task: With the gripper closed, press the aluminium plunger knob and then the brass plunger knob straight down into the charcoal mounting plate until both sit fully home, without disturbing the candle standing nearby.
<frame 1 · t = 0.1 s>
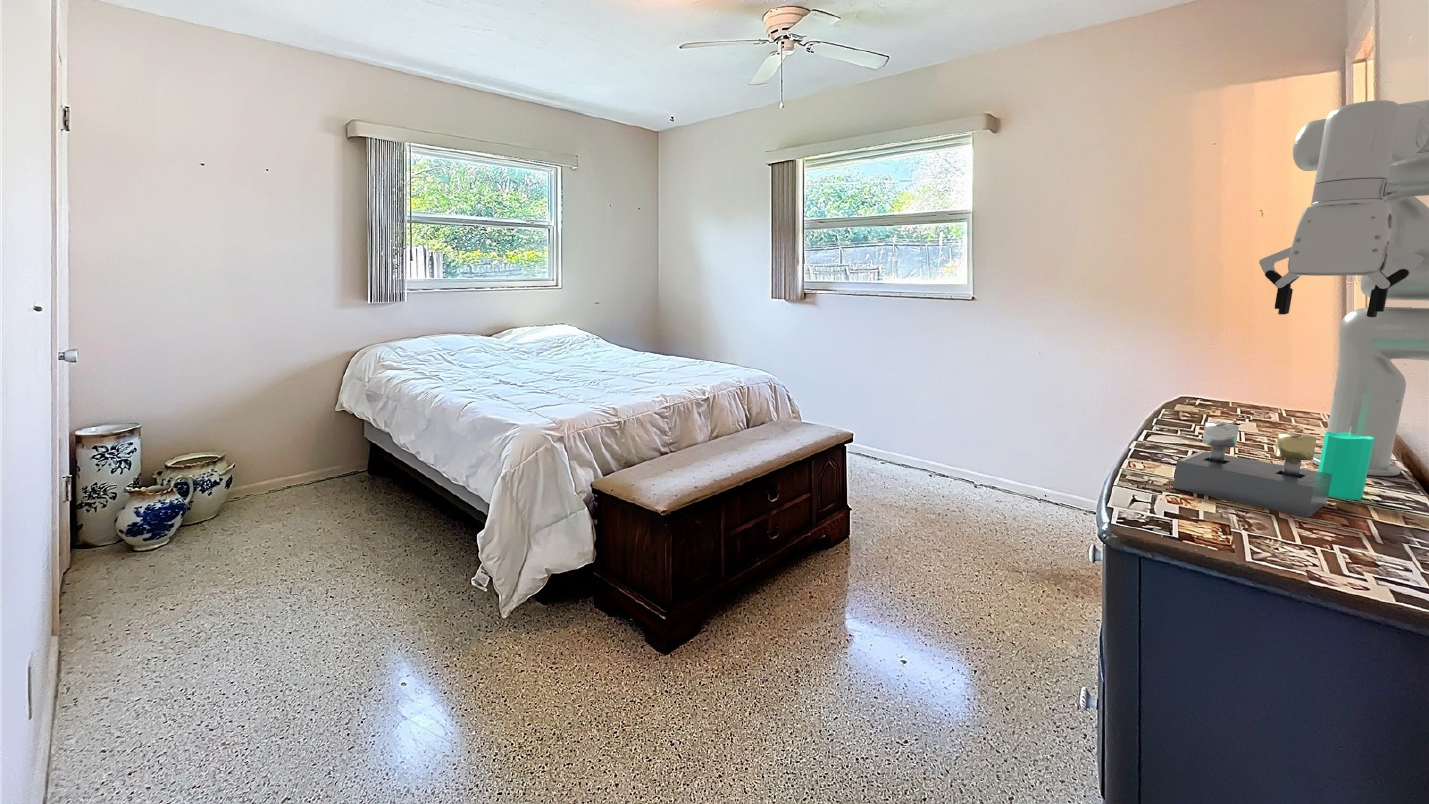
hand: (1325, 315, 94), 31 cm above the table, tool pointing down, fingers open, 9 cm apart
candle: (1337, 495, 110), on the table
knob a: (1218, 446, 112), point 8 cm above the table, slide at 0.0 cm
knob b: (1293, 459, 104), point 8 cm above the table, slide at 0.0 cm
mount: (1247, 495, 109), on the table
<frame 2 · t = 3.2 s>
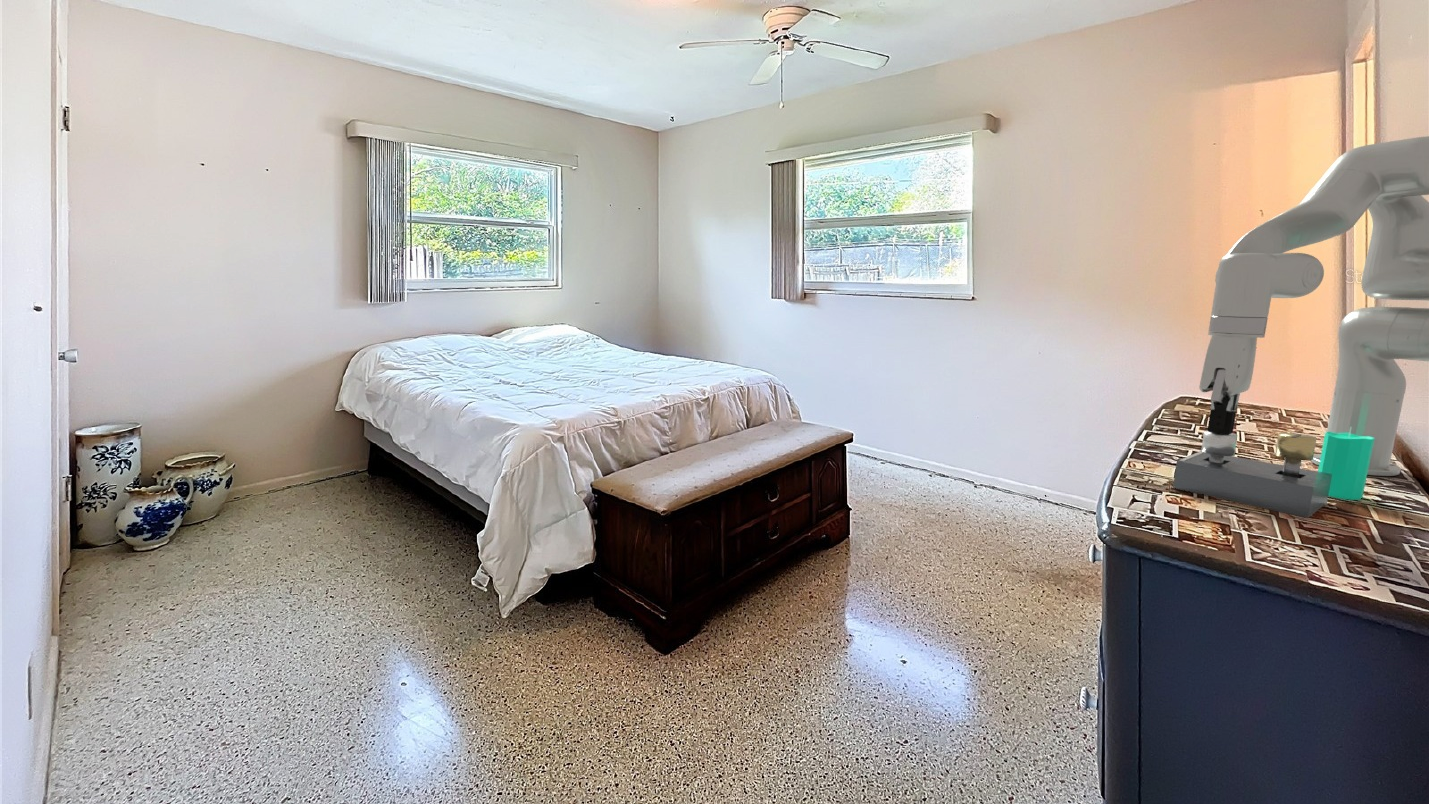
hand: (1219, 432, 111), 10 cm above the table, tool pointing down, fingers closed
knob a: (1217, 454, 112), point 6 cm above the table, slide at 1.5 cm, touching gripper
everything else where it was.
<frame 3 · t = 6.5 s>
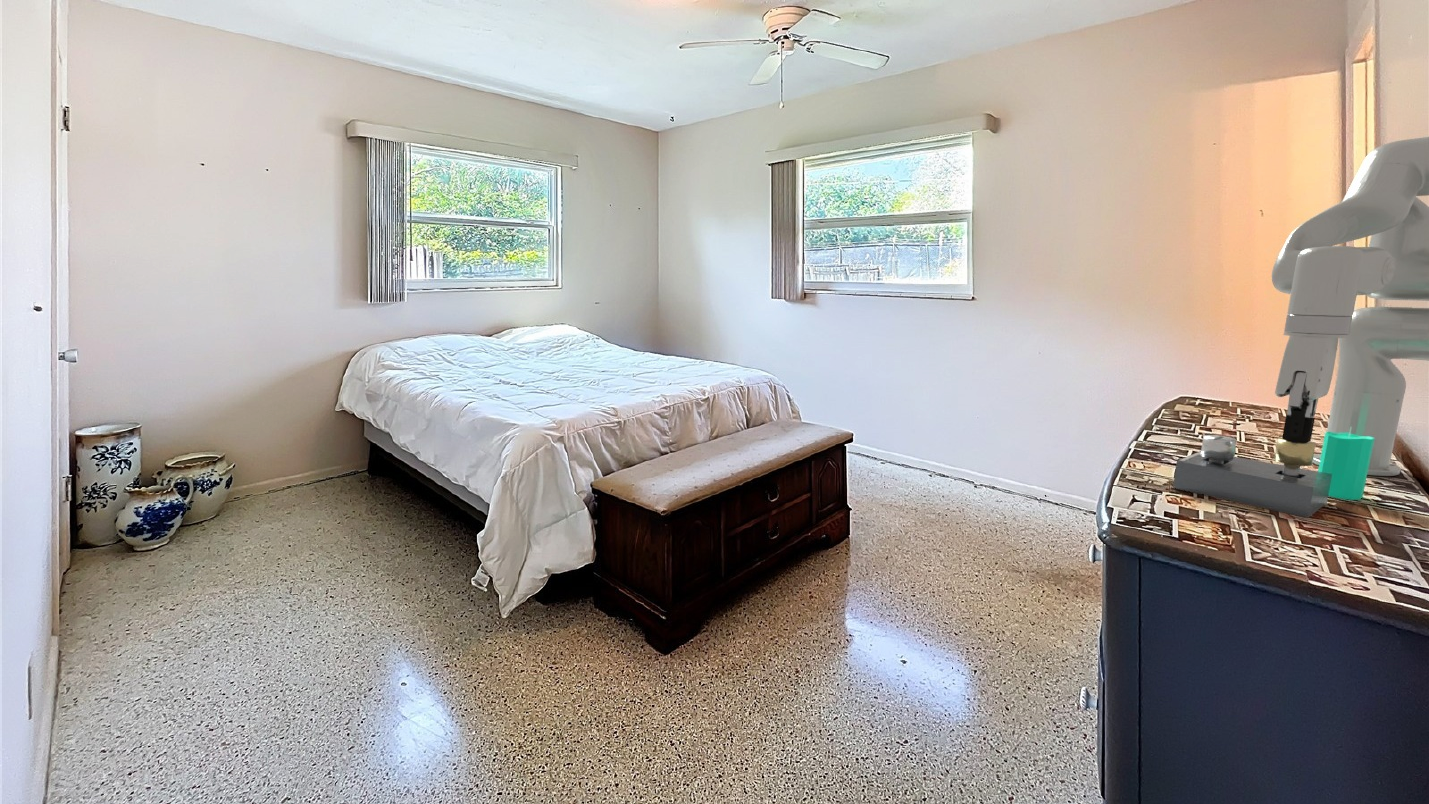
hand: (1296, 440, 103), 11 cm above the table, tool pointing down, fingers closed
knob a: (1216, 459, 112), point 5 cm above the table, slide at 2.4 cm
knob b: (1292, 464, 104), point 7 cm above the table, slide at 0.9 cm, touching gripper
everything else where it was.
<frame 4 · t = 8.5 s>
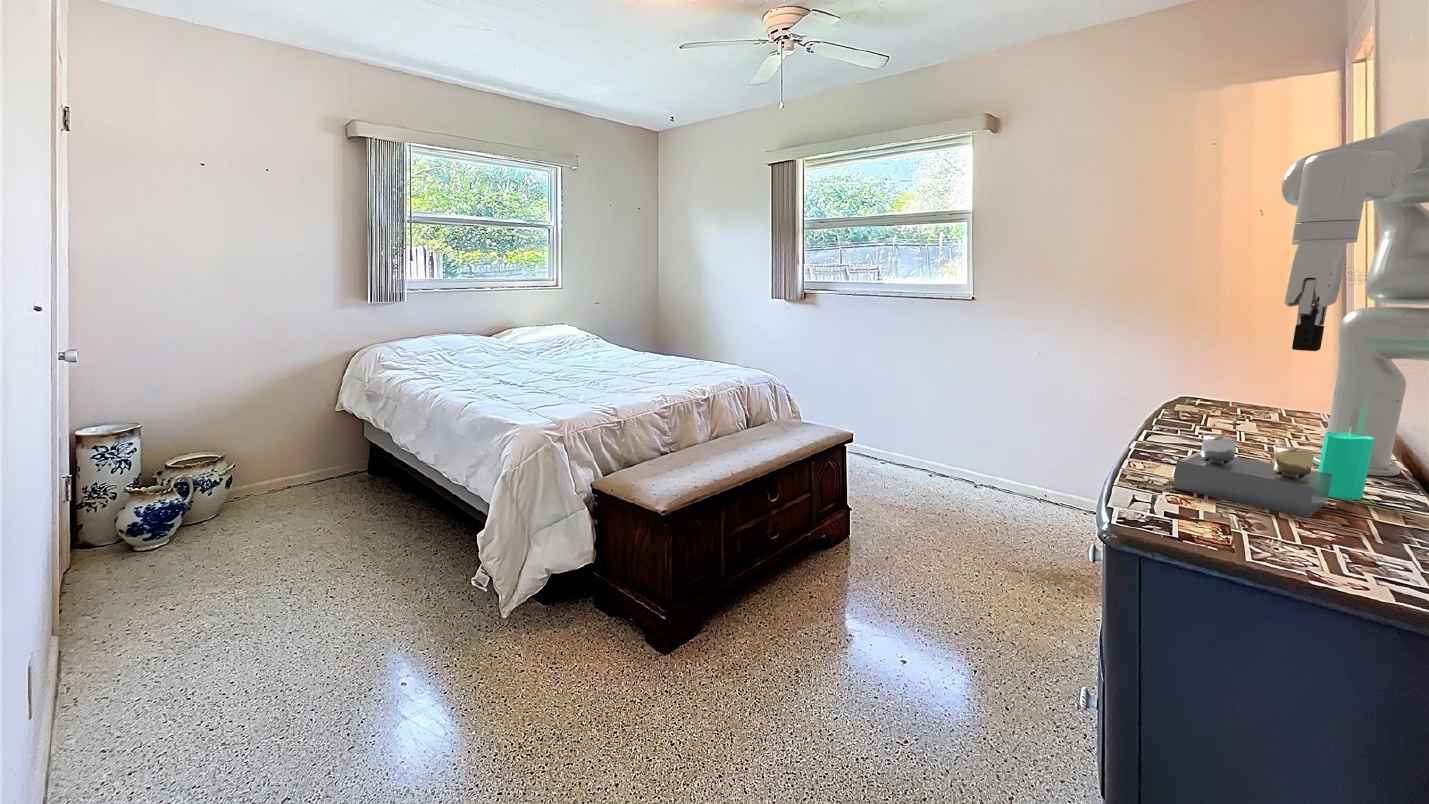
hand: (1305, 349, 104), 25 cm above the table, tool pointing down, fingers closed
knob b: (1290, 472, 104), point 5 cm above the table, slide at 2.4 cm
everything else where it was.
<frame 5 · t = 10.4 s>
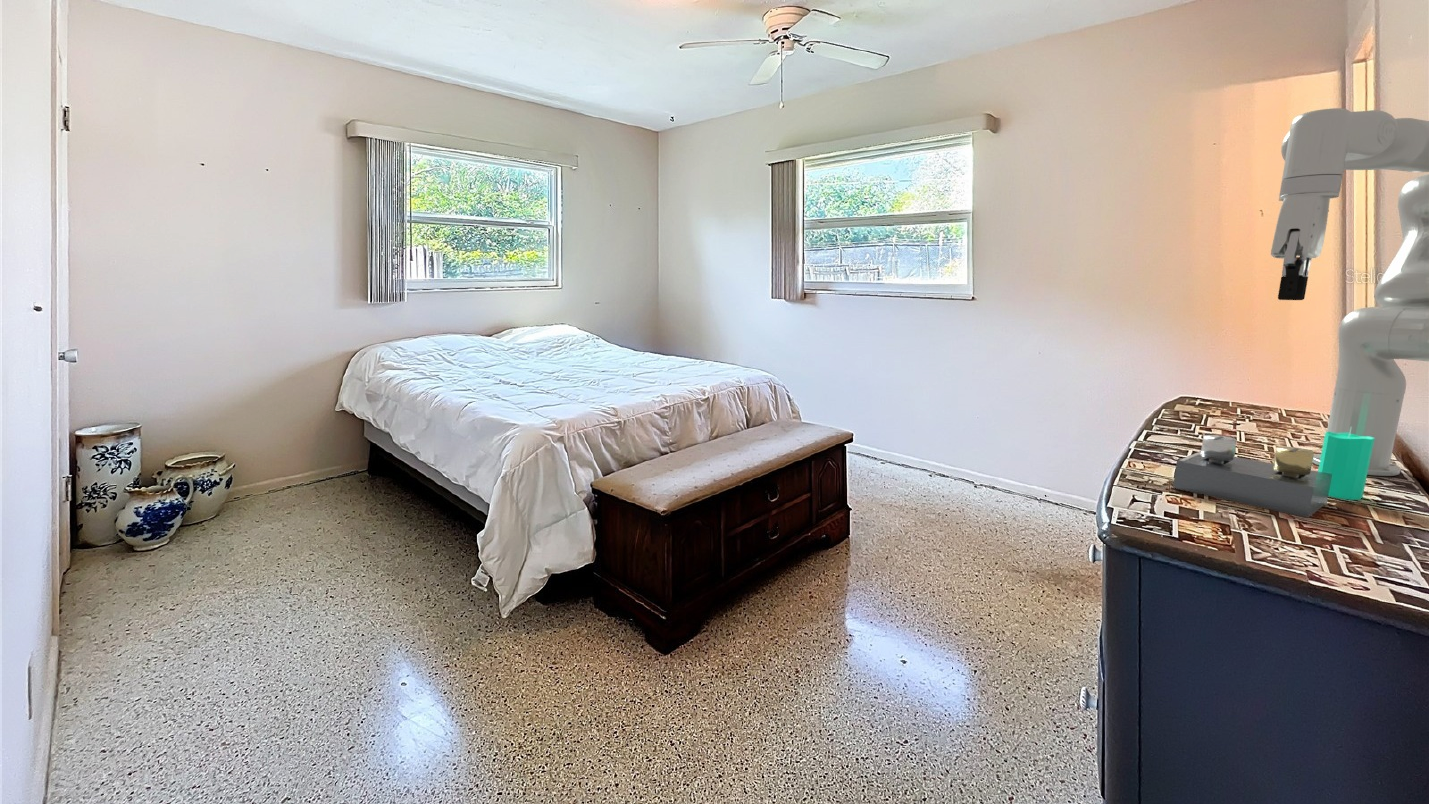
hand: (1290, 299, 110), 33 cm above the table, tool pointing down, fingers closed
nothing on the table moved.
at the end: knob a slide at 2.4 cm; knob b slide at 2.4 cm; candle tilted 0° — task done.
